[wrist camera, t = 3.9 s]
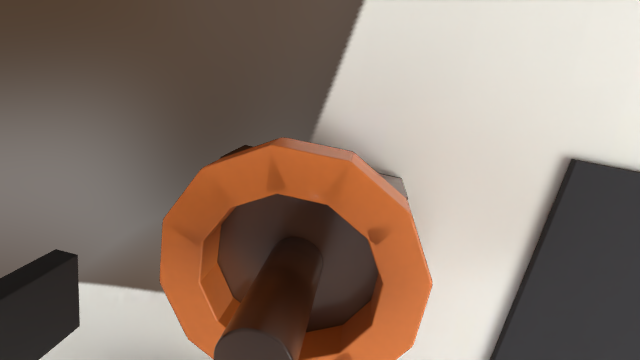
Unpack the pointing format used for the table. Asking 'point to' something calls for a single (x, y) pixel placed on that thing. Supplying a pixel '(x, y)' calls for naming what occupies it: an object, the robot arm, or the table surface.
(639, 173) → the mat
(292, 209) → the post
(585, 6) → the table surface
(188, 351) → the table surface
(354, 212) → the ring
